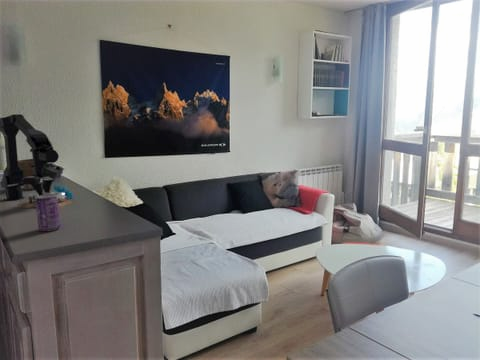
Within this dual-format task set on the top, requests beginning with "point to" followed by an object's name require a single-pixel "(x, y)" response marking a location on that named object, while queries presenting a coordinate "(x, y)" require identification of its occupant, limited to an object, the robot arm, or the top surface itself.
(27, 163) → the plant pot
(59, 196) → the ball knob lever
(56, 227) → the beverage can
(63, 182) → the top surface
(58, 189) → the gear
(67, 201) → the peg rack
